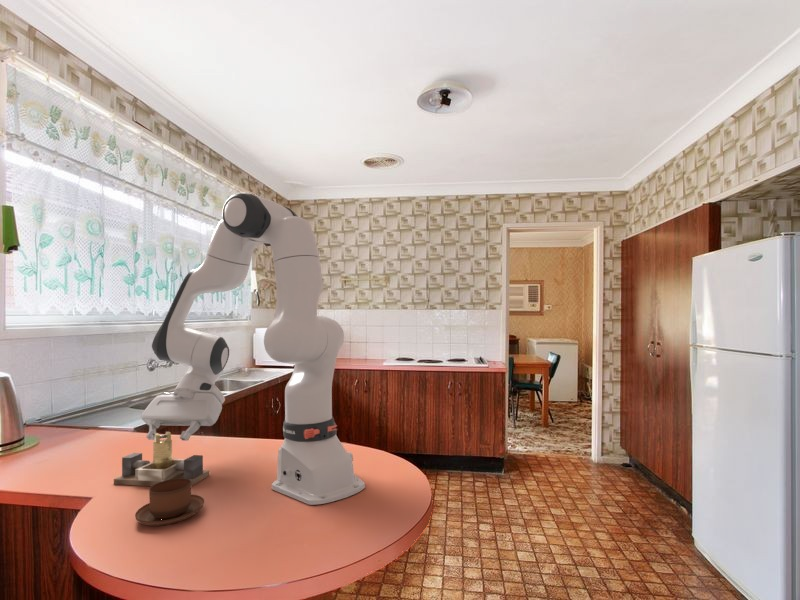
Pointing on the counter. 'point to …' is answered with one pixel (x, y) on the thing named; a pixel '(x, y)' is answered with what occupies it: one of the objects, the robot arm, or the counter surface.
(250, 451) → the counter surface
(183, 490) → the cup and saucer
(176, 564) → the counter surface
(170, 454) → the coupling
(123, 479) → the shaft stand
